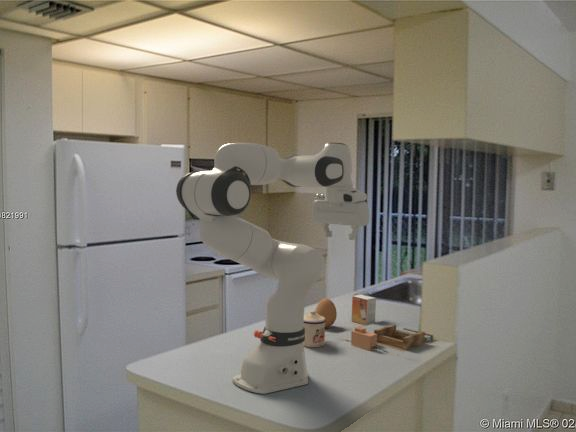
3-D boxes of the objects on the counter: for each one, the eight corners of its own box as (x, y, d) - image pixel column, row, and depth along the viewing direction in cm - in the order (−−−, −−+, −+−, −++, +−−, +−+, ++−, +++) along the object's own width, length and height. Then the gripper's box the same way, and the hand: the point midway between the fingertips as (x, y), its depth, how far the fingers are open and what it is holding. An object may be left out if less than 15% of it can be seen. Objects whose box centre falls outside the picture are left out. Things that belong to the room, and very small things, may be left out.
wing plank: (427, 341, 191) (427, 337, 191) (398, 334, 200) (398, 330, 200) (430, 340, 193) (430, 336, 193) (402, 333, 202) (402, 329, 202)
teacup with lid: (316, 349, 184) (316, 315, 183) (293, 344, 189) (294, 311, 189) (334, 341, 194) (335, 308, 193) (312, 336, 199) (313, 305, 198)
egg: (337, 330, 208) (337, 301, 207) (315, 329, 208) (315, 300, 207) (335, 324, 216) (336, 296, 215) (314, 324, 216) (315, 295, 215)
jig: (403, 354, 181) (403, 339, 180) (371, 345, 190) (371, 330, 190) (435, 342, 194) (436, 328, 194) (404, 334, 204) (405, 321, 203)
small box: (351, 321, 221) (351, 295, 221) (360, 319, 225) (361, 294, 224) (366, 325, 215) (367, 299, 215) (375, 323, 219) (376, 297, 218)
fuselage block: (369, 350, 184) (370, 332, 184) (351, 345, 190) (351, 327, 190) (376, 348, 187) (377, 330, 187) (358, 343, 193) (358, 325, 192)
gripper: (307, 194, 176) (309, 237, 178) (359, 197, 162) (360, 242, 164) (319, 192, 180) (321, 233, 182) (371, 194, 167) (372, 239, 169)
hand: (340, 238), depth 173 cm, fingers open, 8 cm apart
